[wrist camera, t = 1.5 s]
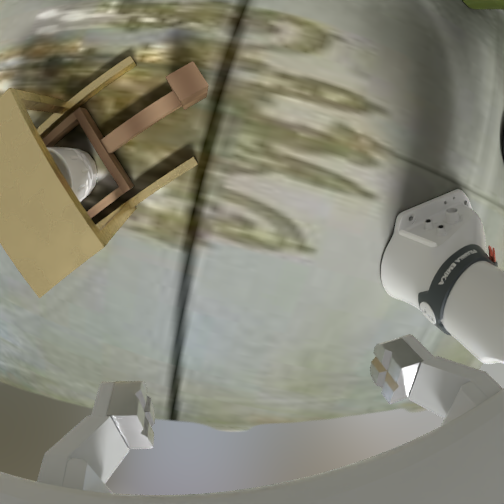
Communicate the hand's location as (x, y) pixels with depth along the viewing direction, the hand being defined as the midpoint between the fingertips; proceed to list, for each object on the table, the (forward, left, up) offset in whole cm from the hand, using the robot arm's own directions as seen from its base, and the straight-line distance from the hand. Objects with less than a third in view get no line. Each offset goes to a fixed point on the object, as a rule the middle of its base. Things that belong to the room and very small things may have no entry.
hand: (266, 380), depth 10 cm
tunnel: (+13, -13, -31) cm, 36 cm away
